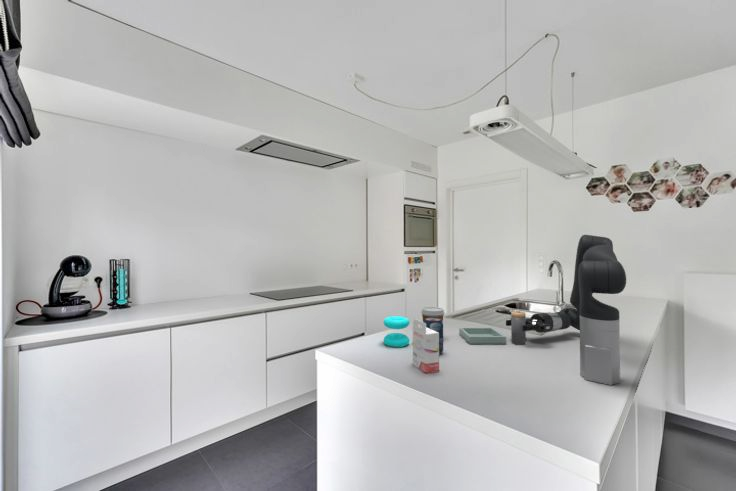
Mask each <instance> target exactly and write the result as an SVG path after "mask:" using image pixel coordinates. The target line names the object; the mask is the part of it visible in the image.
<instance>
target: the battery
mask: <svg viewBox="0 0 736 491" xmlns="http://www.w3.org/2000/svg"><path fill="white" fill-rule="evenodd" d="M510 313H511V314H510V320H511V328H510V329H511V330H510V331H511V341H510V342H511V344H513V345H515V346H525V345H527V344H526V343H527V342H526V340H527V339H526V336H527V334H526V332H527V331H523V325H526V318H527V317H526V312H524V311H521V310H520V309H516V310H512V311H511V312H510Z"/></svg>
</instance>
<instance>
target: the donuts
mask: <svg viewBox="0 0 736 491" xmlns="http://www.w3.org/2000/svg"><path fill="white" fill-rule="evenodd" d="M383 324H384V326H385V327H386V328H387V329H391V330H401V329H402V330H403V329H405V328H407V327H408V326H409V325H410V319H409V318H407V317H405V316H399V315H395V316H386V317H385V318H384V319H383ZM383 343H384V344H385V345H386V346H388V347H392V348H402V347H406V346H408V345H409V343H410V338H409V336H407V335H406V334H404V333H400V332H393V333H388V334H385V336H384V337H383Z"/></svg>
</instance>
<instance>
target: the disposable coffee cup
mask: <svg viewBox="0 0 736 491" xmlns="http://www.w3.org/2000/svg"><path fill="white" fill-rule="evenodd" d="M420 313H421V316H422V322H423V323H424V321H425V318H428V317H436V318H440V319H441V321H442V323H443V324H444V315H445V313H446V312H445V311H444V309H443V308H442V307H437V306H435V307H434V306H430V307H429V306H427V307H422V309H421V311H420Z"/></svg>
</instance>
